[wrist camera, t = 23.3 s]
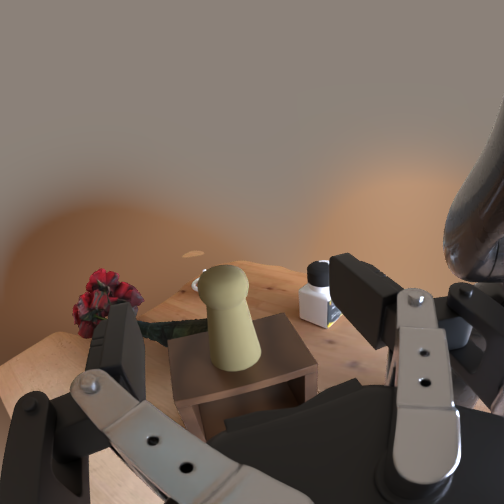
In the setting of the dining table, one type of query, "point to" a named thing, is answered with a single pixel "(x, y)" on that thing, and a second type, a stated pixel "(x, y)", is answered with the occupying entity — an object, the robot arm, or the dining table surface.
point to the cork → (229, 318)
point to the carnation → (113, 292)
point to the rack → (240, 378)
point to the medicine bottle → (318, 296)
